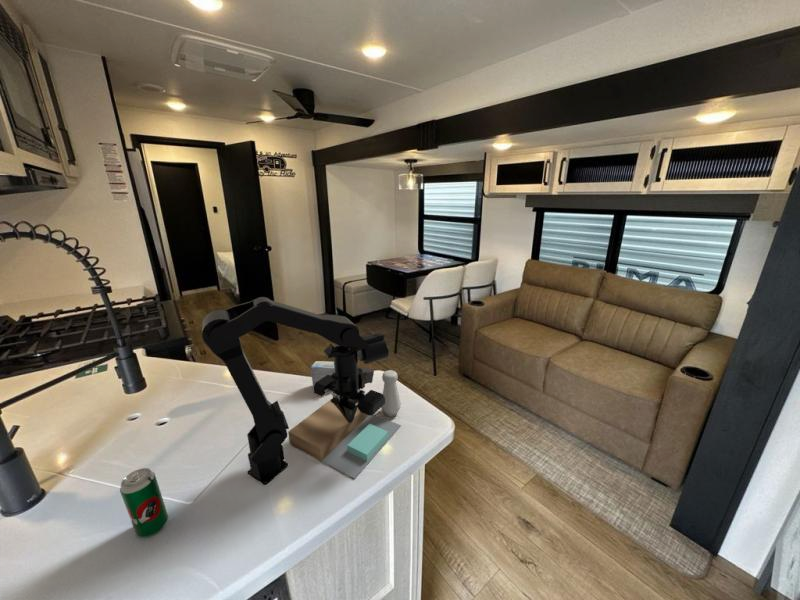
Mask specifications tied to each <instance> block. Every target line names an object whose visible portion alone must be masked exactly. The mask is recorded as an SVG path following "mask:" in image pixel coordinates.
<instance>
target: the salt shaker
mask: <svg viewBox="0 0 800 600" xmlns="http://www.w3.org/2000/svg"><path fill="white" fill-rule="evenodd" d="M381 378H382V381H383V383H384V384H383V389H382V394H384V396H385V404H384V405H383V406H382V407H381V408H380V409H381V411H382V412H383V414H384V415H385V416H387V417H390V418H391V417H394V416H397V414H398V412H399V410H400V409H401V405H402V402H401V399H400V394H399V389H398V386H397V381H398V373H397V372H396V371H395V370H391V369H389V370H385V371H384V372H382V377H381Z"/></svg>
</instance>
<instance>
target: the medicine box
mask: <svg viewBox="0 0 800 600" xmlns="http://www.w3.org/2000/svg"><path fill="white" fill-rule="evenodd" d="M310 372H311V380H312V389H313V391H314V385H315V383H316V382H317V381H319V380H320V379H322V378H323V377H325V376H326V375H330V376H331V374H333V373H334V372H335V370H334V361H327V360H325V361H324V360H321V361H320V360H318V361H317V360H316V361H315V362H314V363H313V364H312V365H311V367H310ZM326 391H329V392H332V391H331V390H328V389H326V390H325V392H326Z"/></svg>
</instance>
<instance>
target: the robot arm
mask: <svg viewBox="0 0 800 600" xmlns="http://www.w3.org/2000/svg"><path fill="white" fill-rule="evenodd" d="M265 322H270V323H274V324H278V325H281V326H286V327H289V328H293V329H297V330H300V331H304V332H308V333H312V334H316V335H318V336H320V337H323V338H324V339H326V340H328V341H330V342H331V343H330V344H328V346H327V347H326V348H325V349H323V353H324V354H325V356H326V357H327V358H328V359H332V358H333V362H334V370H335V372H334V373H333V374H331V376H330V375H326V376H325V377H323V378H322V379H320V380H319V381H317V382H316V383H315V385H314V390H313V394H315V395H317V396H320V397H323V396H324V395H325V394H326V391H325V390H326V389H328V390H331V391H330V394H331V396H332V398H331V399H330V400H331V402H332V403H333V404H334V405H335V406H336V407H337V408H338V410H339V411H340V412H341V413H342V415H343V416H344V418H345V419H346V420H347V422H349V423H351V422H352V421H353V419H354V416H355V413H356V410H357V408H358V409H359V410H360V412H362V413H364V414H367V415H369V416H371V415H376V413H377V412H378V411H379V410H380V409H382V408H381V407H382V406H383V405H384V404H385V396H384V394H383V392H379V391H375V390H373V389H370V390H369V391H368V392H366V391H365V390H363V389H364V388H365V387H366V384H372V383H373V379H374V374H375V370H373V369H370V368H367V367H365V366H364V367H363V366H360V365H359V361H360V362H363V364H365V365H368V364H371V363H375V362H378V361H382V360H386V359H388V358H389V354H390V353H389V351H390V350H389V348H388V346H387V342H386V340H385V335H384V334H382V333H381V332H377V333H374V334H371V335H367V336H362V335H360V330H359V327H358V326H357V325H356V324H355V323H353V321H351V320H350V319H349V318H347V317H346V316H343V315H337V314H319V313H315V312H311V311H308V310H305V309H301V308H298V307H295V306H291V305H288V304H285V303H282V302H278V301H275V300H271V299H270V298H269V297H266V296H260V297H257V298H255V299H252V300H251V301H246V302H244V303H240V304H237V305H233V306H231V307H229V308H227V309H216V310H213V311H211V312H208V313H207V314H206V315H205V316H204V319H203V320H202V328H201V330H202V331H201V338H202V341H203V342H204V344H205V345H206V346H207V347H208V348H209V350H210V351H211V352H212V354H213V355H214V356H215V357H217V358H218V359H219V360H220V361H222V362H223V364H225V366H226V369H227V370H228V372H229V374H230V376H231V378H232V379H233V382H234V383H235V386H236V387H237V389H238V391H239V393H240V395H241V396H242V398H243V400H244V402H245V404H246V407H247V408H248V410H249V411H250V414H251V415H252V418H253V422H254V425H253V426H252V427H251V429H250V430H249V432H248V433H247V434H246V435H247V441H248V448H249V453H247V457H248V462H249V466H250V469H249V470H248V471H247V475H249V476H250V477H252V478H253V479H255V480H256V481H257V482H259V483H261V484H262V485H263V486H267V485H268V484H269V483H270V482H272V480H274V479H275V478H276V477H277V476H278V475H280V473H282V472H283V471H284V470H285V469H286V468H287V467H289V463H288V462H287V461H285V453H284V447H283V443H284V442H285V441H286V439H287V437H288V432H287V430H289V429H290V427H289V424H288V421H287V419H286V416H285V413H284V411H283V410H281V406H280V404H279V401H278V400H276V401H274V402H273V403H272V402H270V401H269V399H267V397H266V395H265V392H264V389H262V387H261V384H260V382H259V380H258V379H257V376H256V374H255V372H254V369H253V368H252V366H251V364H250V362H249V360H248V357H247V355H246V353H245V352H244V350H243V346H242V341H241V337H243V336H245V335H247V334H248V333H250V332H251V331H252V330H255V328H257V327H259V325H262V324H264V323H265ZM333 343H334V344H335V345H334V344H333Z"/></svg>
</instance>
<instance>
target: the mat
mask: <svg viewBox="0 0 800 600" xmlns="http://www.w3.org/2000/svg"><path fill="white" fill-rule="evenodd" d="M369 424H372V425H374V426H376V427H379V428H381V429H383V430H386V431H388V439H387V440H386V441H385V442H384V444H383V445H382V446H381V447H380V448H379V449H378V450H377V451H376V452H375V454H374V455H373V456H372V457H371V458H370V459H369V460H368V461H365V460H363V459H361V458H359V457H357V456H355V455H353V454H351V453H349V452H348V448H347V445H348V444H349V443H350V442H351V441H352V440H353V439H354V438H355V437H356V436H357V435H358V434H359V433H360V432H361V431H362V430H363V429H365V428H366V427H367V426H368V425H369ZM401 426H402V425H401V424H399V423H396V422H393V421H391V420H389V419H387V418H383V417H381V416H378V415H376V414H374V415H371V416H368V417H367V418H366V419H365V420H364V421H363V422H362V423H361V424H360V425H359V426H357V427H356V428H355V429H354V430H353V431H352V432H351V433H350V434H349V435H348V436H347V437H346V438H345V439H344V440H343V441H342V442H341V443H340V444H339V445H338V446H336V447H335V448H334V449H333V450H332V451H331V452H330V453H329V454H328V455H327V456H326V457H325V458H324V459H323V460H322V462H321V463H323V464H325V465H327V466H329V467H330V468H333V469H335V470H337V471H338V472H340V473H342V474H344V475H346V476H348V477H349V478H351V479H353V480H357V477H358V476H359V475H360V474H361V473H362V471H364V469H366V467H367V466H368V465H369V464H370V462H372V460H374V458H375V457H376V455H378V453H379V452H380V451H381V450H382V449H383V447H384V446H385V445H386V444H387V443H388V441H390V439H391V438H392V437H393V436H394V435H395V434H396V433H397V431H398V430H399V429H400V428H401Z"/></svg>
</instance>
